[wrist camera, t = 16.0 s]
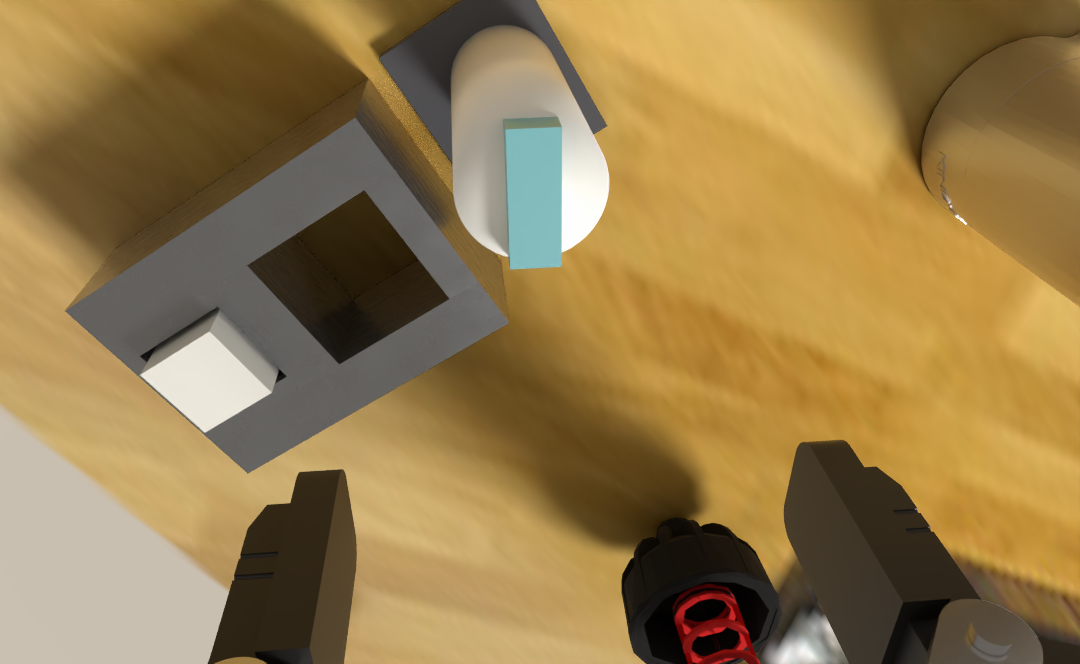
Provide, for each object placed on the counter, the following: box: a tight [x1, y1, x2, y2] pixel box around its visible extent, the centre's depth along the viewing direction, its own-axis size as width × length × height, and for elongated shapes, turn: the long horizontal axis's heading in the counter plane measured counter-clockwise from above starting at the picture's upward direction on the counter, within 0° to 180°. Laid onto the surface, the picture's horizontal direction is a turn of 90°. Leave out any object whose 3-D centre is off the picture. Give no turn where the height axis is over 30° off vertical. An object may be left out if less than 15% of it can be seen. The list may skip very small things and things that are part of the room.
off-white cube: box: [140, 307, 279, 433], centre depth 36 cm, size 4×4×5 cm
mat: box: [379, 0, 607, 164], centre depth 36 cm, size 7×8×1 cm
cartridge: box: [451, 25, 609, 269], centre depth 30 cm, size 5×5×14 cm
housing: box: [65, 78, 509, 473], centre depth 37 cm, size 15×11×6 cm
